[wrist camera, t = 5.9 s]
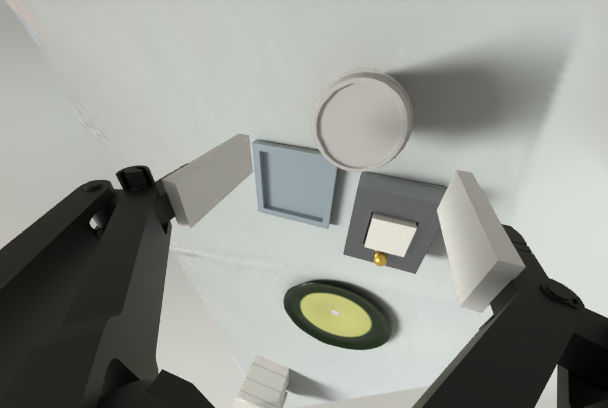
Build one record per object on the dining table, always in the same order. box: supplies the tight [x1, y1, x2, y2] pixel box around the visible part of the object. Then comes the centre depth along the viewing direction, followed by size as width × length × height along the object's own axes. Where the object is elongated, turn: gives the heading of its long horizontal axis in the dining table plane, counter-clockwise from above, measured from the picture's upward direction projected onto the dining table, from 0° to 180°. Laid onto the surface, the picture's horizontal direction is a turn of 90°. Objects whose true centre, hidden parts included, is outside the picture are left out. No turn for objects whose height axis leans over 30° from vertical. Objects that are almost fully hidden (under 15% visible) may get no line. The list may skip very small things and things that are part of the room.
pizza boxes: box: [230, 355, 289, 408], centre depth 96 cm, size 19×30×18 cm, turn 177°
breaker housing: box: [344, 172, 446, 274], centre depth 36 cm, size 14×12×7 cm
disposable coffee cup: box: [311, 69, 414, 172], centre depth 26 cm, size 10×10×12 cm
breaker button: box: [364, 212, 417, 257], centre depth 36 cm, size 6×6×6 cm
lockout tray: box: [252, 140, 338, 229], centre depth 41 cm, size 14×14×2 cm
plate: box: [284, 283, 391, 350], centre depth 60 cm, size 28×28×2 cm
